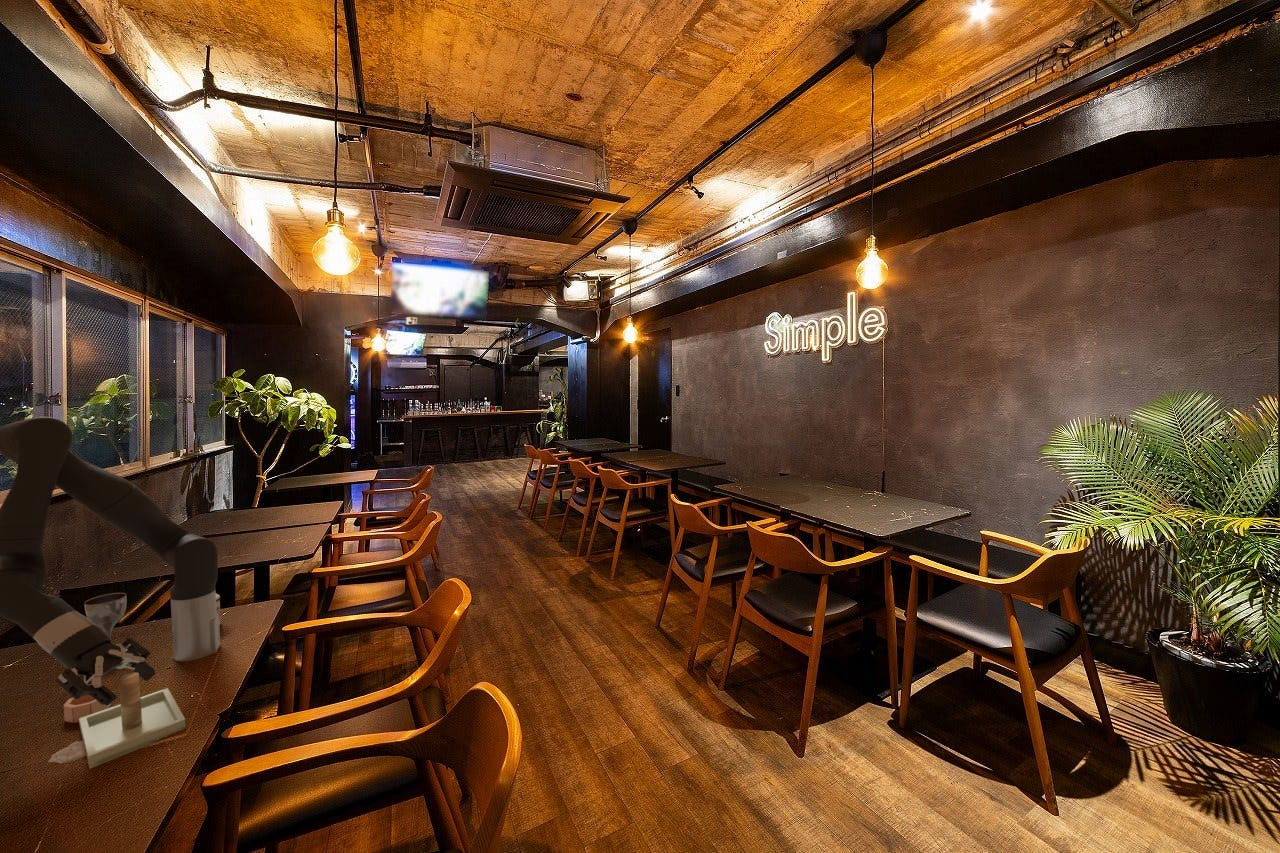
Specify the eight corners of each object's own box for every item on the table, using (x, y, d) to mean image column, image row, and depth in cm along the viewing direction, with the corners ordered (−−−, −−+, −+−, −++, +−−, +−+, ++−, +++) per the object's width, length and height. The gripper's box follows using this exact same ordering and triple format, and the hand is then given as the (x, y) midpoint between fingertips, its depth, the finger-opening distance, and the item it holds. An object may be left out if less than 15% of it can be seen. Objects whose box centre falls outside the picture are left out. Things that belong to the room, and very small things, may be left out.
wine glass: (126, 640, 144) (123, 590, 143) (132, 648, 140) (129, 597, 139) (86, 652, 138) (82, 599, 137) (90, 661, 133) (86, 607, 132)
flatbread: (97, 734, 106) (96, 730, 106) (115, 744, 103) (114, 740, 103) (39, 761, 98) (39, 756, 98) (57, 773, 95) (56, 768, 95)
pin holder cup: (114, 702, 116) (113, 685, 116) (104, 717, 111) (102, 700, 110) (73, 711, 113) (72, 694, 113) (60, 728, 107) (59, 710, 107)
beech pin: (144, 719, 109) (140, 671, 108) (139, 726, 107) (136, 677, 106) (124, 723, 107) (121, 675, 107) (120, 731, 105) (116, 682, 104)
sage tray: (79, 729, 107) (79, 718, 107) (168, 697, 118) (167, 687, 118) (89, 768, 96) (88, 756, 96) (185, 730, 107) (185, 719, 107)
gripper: (45, 643, 98) (111, 697, 99) (118, 611, 112) (174, 658, 113) (20, 669, 98) (85, 723, 100) (95, 634, 112) (152, 681, 114)
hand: (132, 689), depth 107 cm, fingers open, 8 cm apart
